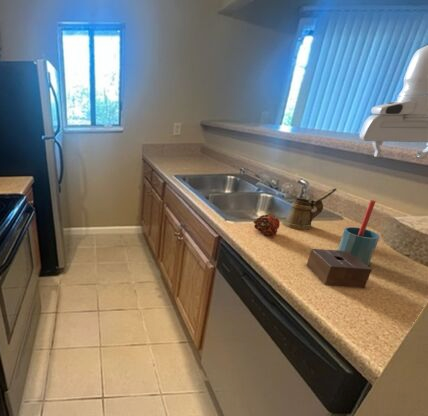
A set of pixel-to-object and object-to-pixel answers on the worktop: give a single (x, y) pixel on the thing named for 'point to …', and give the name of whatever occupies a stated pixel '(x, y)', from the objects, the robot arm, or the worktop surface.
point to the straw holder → (338, 268)
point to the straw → (366, 218)
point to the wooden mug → (305, 212)
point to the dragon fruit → (267, 224)
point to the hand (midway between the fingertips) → (398, 157)
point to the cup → (359, 243)
